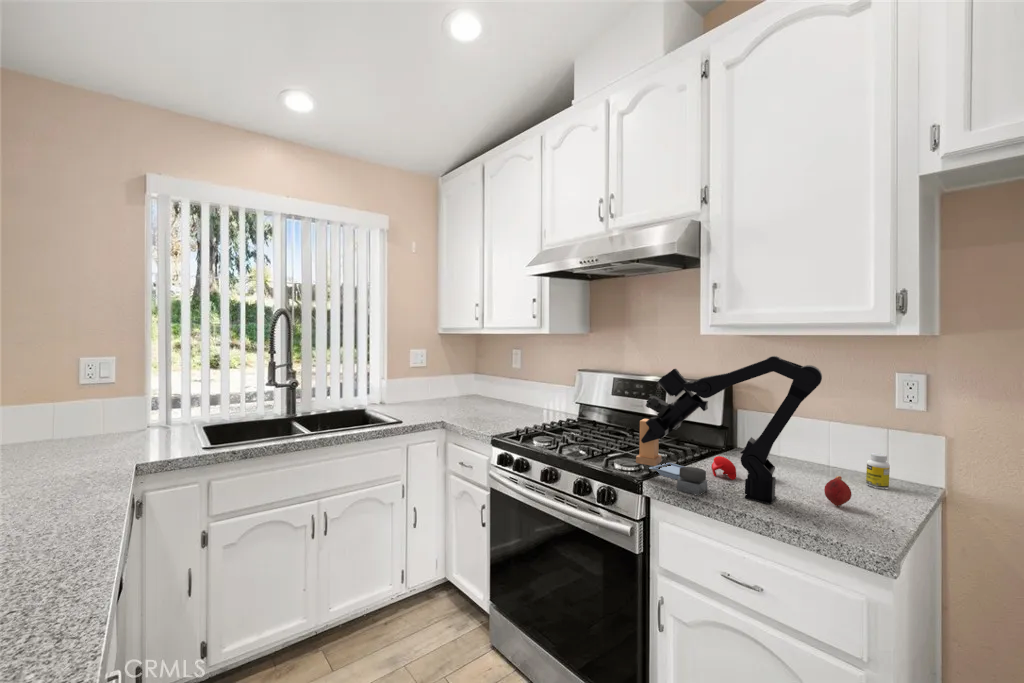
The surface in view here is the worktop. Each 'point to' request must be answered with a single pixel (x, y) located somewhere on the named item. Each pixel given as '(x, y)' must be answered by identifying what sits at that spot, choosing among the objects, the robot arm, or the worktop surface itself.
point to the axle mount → (691, 486)
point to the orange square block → (647, 448)
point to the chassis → (668, 470)
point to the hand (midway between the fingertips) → (644, 440)
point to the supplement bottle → (878, 471)
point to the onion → (837, 491)
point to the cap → (724, 467)
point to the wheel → (692, 474)
